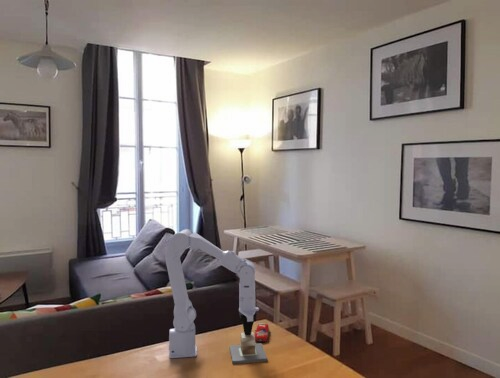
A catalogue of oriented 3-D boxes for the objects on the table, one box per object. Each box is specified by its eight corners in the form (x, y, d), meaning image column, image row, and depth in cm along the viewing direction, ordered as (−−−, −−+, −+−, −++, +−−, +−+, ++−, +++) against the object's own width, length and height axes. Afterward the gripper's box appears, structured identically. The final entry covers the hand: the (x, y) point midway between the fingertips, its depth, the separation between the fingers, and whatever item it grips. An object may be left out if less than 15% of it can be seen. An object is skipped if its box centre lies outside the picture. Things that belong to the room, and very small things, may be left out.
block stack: (242, 354, 136) (242, 337, 135) (240, 349, 140) (240, 332, 140) (255, 353, 136) (255, 337, 136) (253, 348, 141) (253, 331, 141)
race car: (267, 344, 147) (267, 334, 147) (252, 343, 148) (252, 333, 148) (270, 330, 160) (270, 320, 160) (257, 329, 161) (257, 319, 161)
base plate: (232, 363, 131) (232, 360, 131) (229, 348, 143) (229, 345, 143) (267, 361, 133) (267, 358, 133) (261, 345, 145) (261, 342, 145)
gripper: (262, 302, 131) (262, 342, 131) (255, 289, 145) (255, 325, 146) (241, 303, 130) (241, 343, 130) (236, 290, 144) (236, 326, 145)
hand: (247, 334), depth 138 cm, fingers closed
